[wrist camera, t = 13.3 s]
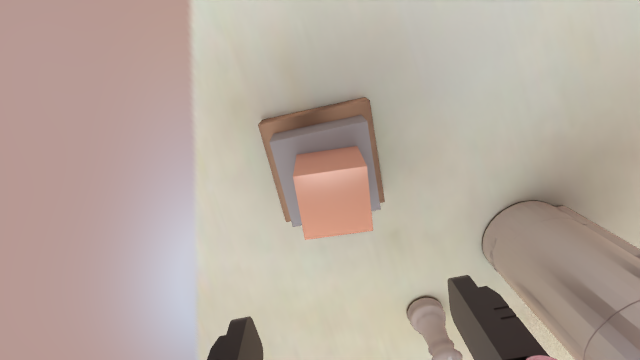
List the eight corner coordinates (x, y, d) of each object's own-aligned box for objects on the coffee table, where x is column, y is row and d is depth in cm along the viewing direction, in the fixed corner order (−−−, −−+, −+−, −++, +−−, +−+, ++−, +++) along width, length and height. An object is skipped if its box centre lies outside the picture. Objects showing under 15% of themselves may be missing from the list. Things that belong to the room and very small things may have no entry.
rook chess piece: (401, 302, 39) (424, 360, 31) (436, 290, 38) (468, 347, 31) (411, 327, 40) (434, 388, 33) (445, 316, 40) (476, 376, 32)
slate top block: (361, 114, 28) (367, 121, 25) (374, 195, 31) (380, 209, 28) (273, 133, 28) (269, 142, 25) (294, 211, 31) (292, 226, 28)
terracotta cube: (357, 145, 25) (367, 166, 21) (362, 200, 27) (373, 230, 23) (296, 154, 26) (292, 176, 21) (306, 208, 27) (304, 239, 23)
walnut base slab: (363, 96, 30) (369, 100, 27) (378, 189, 34) (384, 201, 31) (262, 118, 30) (258, 125, 28) (287, 208, 34) (286, 222, 31)
